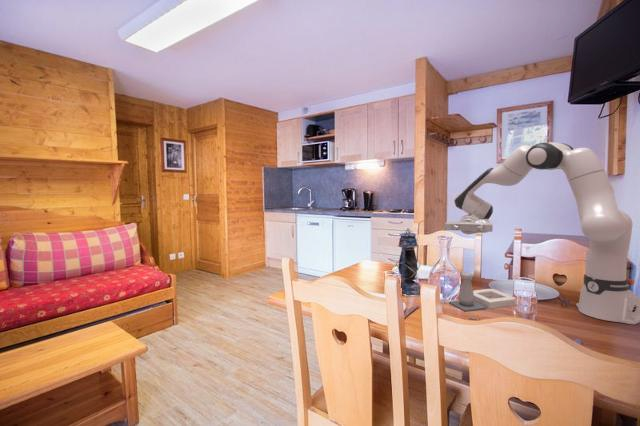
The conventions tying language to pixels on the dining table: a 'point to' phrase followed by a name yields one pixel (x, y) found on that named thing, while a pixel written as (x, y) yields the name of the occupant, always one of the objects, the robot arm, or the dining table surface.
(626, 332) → the dining table surface
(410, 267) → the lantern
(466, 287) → the salt shaker
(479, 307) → the rubber pad
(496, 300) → the socket block
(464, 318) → the dining table surface
